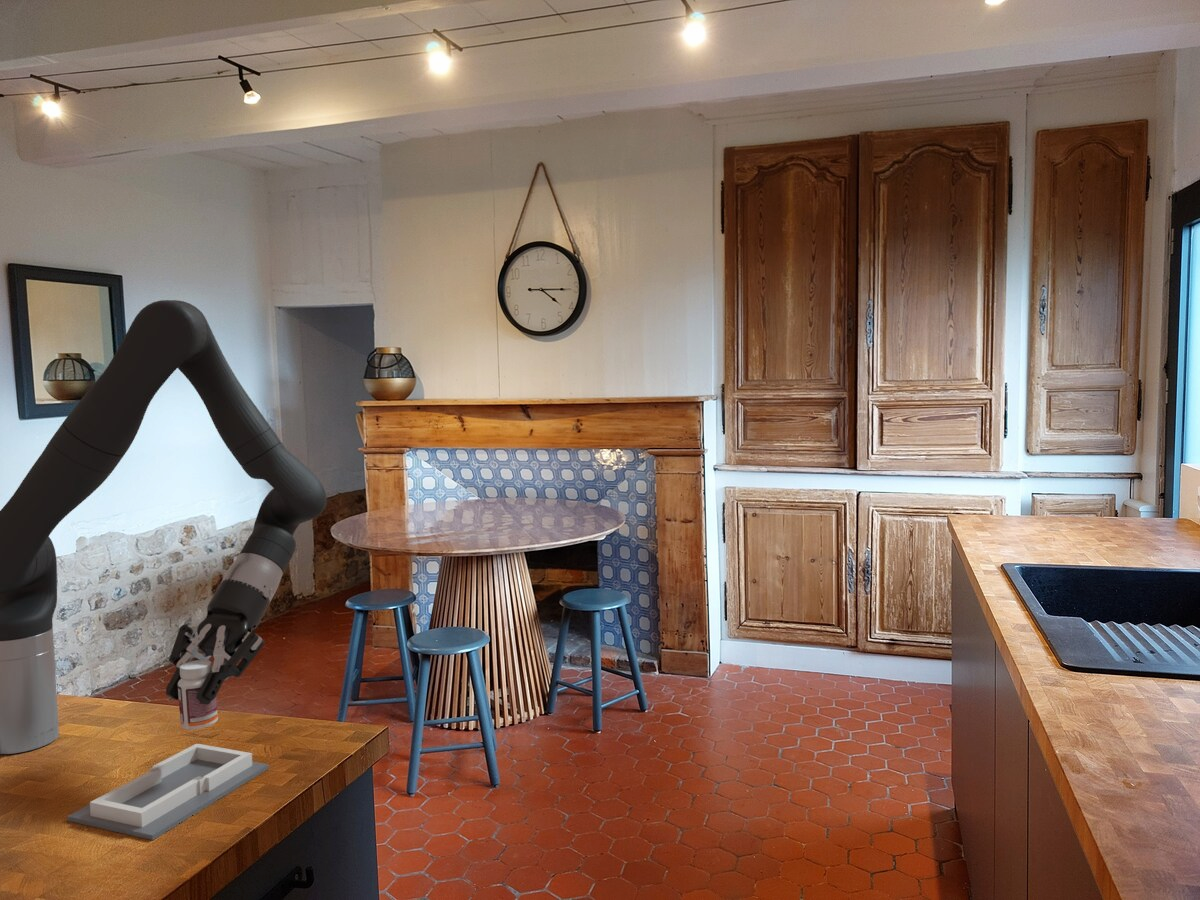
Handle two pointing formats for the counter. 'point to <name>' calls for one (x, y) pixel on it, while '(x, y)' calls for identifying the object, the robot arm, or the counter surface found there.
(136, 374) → the robot arm
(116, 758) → the counter surface
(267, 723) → the counter surface
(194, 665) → the pill bottle
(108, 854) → the counter surface
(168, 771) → the walled tray base
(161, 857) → the counter surface
